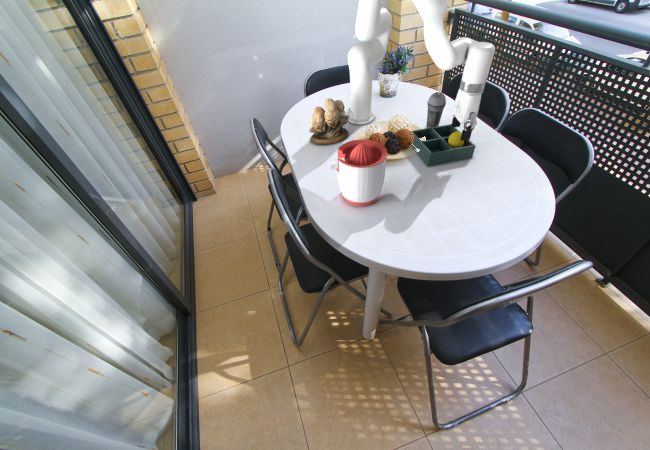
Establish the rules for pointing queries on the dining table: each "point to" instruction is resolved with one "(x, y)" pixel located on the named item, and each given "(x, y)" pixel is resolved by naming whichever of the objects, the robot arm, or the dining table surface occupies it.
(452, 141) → the lemon
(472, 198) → the dining table surface
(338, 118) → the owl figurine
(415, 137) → the divided storage tray
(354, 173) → the citrus juicer
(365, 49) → the robot arm
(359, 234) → the dining table surface
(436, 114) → the beverage cup
